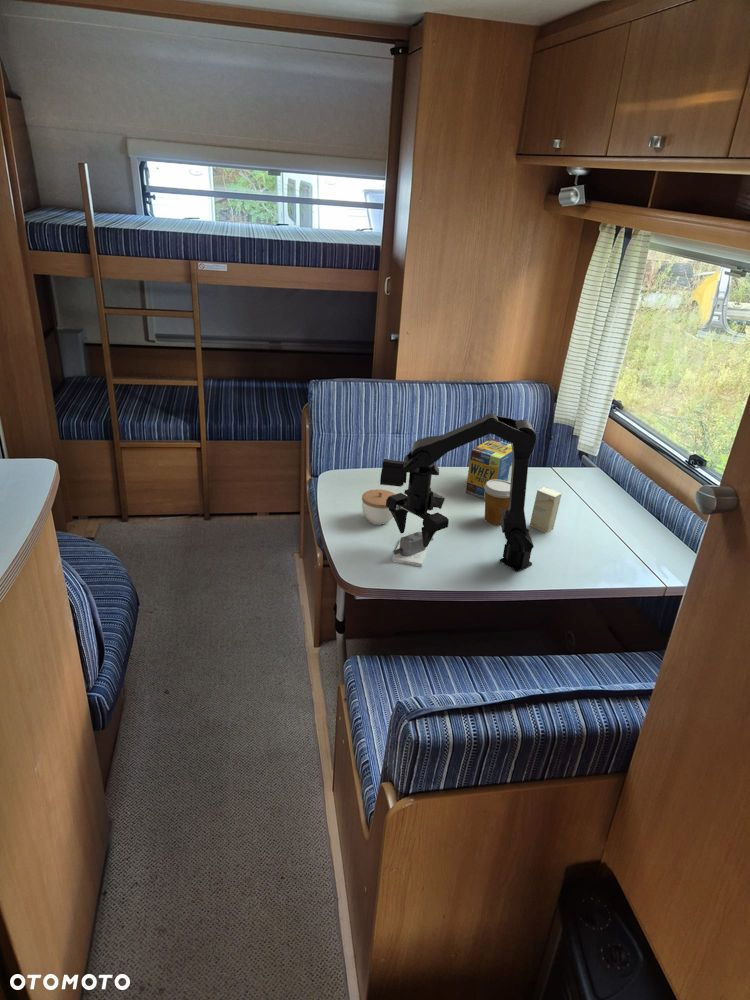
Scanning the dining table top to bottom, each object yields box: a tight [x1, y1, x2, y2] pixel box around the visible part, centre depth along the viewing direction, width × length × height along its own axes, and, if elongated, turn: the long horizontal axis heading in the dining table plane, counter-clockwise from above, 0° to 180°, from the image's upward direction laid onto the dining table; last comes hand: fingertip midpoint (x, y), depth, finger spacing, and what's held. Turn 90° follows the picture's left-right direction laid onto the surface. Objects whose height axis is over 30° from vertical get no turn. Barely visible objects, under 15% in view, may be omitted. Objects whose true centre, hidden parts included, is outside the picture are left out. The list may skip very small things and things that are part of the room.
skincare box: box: [529, 486, 563, 533], centre depth 195 cm, size 6×4×12 cm
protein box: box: [465, 438, 513, 500], centre depth 217 cm, size 10×15×16 cm
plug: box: [392, 531, 434, 556], centre depth 177 cm, size 13×4×4 cm, turn 129°
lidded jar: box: [361, 488, 396, 526], centre depth 193 cm, size 11×11×9 cm
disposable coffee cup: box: [484, 479, 511, 526], centre depth 197 cm, size 10×10×12 cm
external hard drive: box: [391, 536, 430, 567], centre depth 179 cm, size 2×8×12 cm
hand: (413, 539), depth 177 cm, fingers open, 9 cm apart
